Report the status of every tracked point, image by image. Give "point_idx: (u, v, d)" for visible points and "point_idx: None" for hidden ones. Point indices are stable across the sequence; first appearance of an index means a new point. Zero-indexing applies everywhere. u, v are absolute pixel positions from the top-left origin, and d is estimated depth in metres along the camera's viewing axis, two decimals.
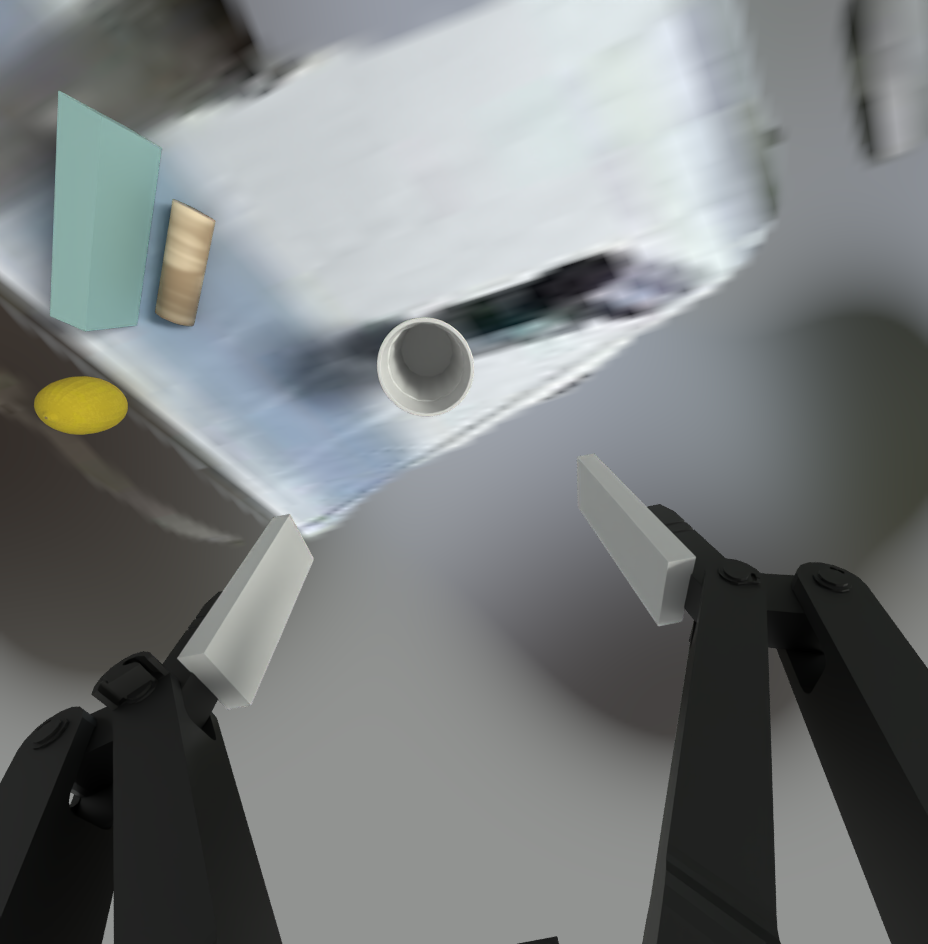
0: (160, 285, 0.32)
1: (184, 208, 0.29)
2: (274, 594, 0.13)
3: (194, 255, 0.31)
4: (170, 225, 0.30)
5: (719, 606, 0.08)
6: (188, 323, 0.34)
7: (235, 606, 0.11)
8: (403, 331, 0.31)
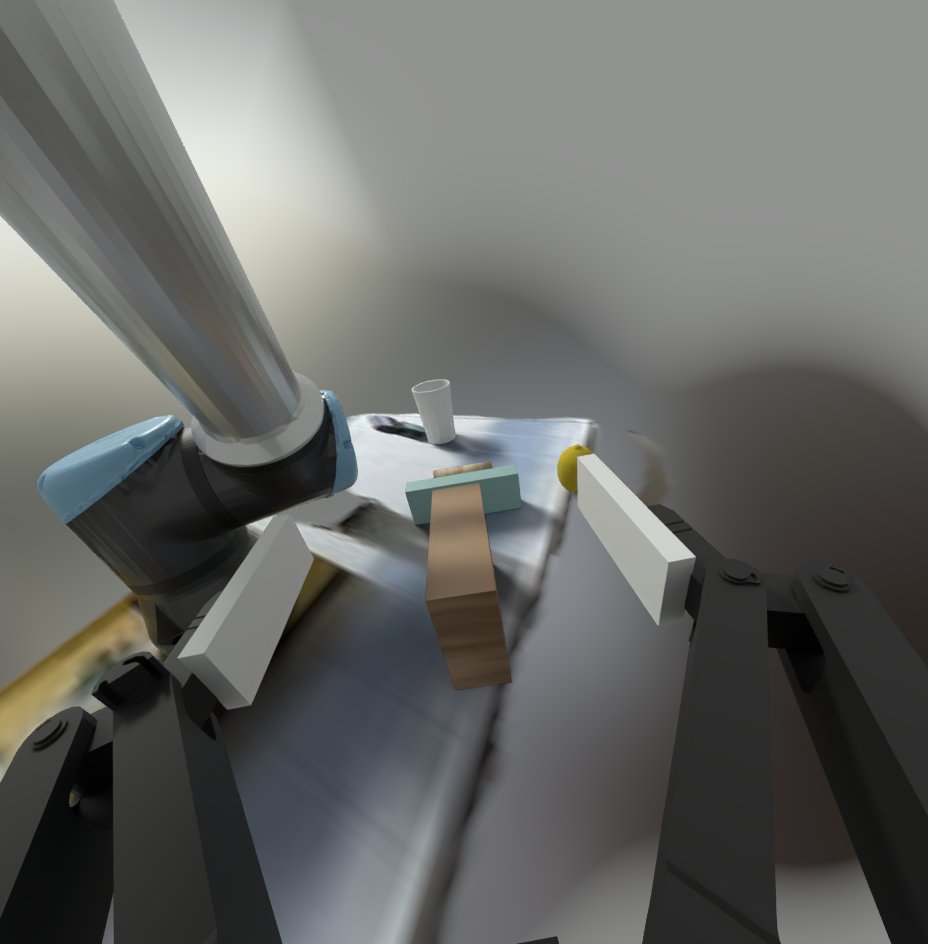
0: None
1: None
2: (274, 594, 0.13)
3: None
4: None
5: (719, 606, 0.08)
6: None
7: (235, 606, 0.11)
8: None
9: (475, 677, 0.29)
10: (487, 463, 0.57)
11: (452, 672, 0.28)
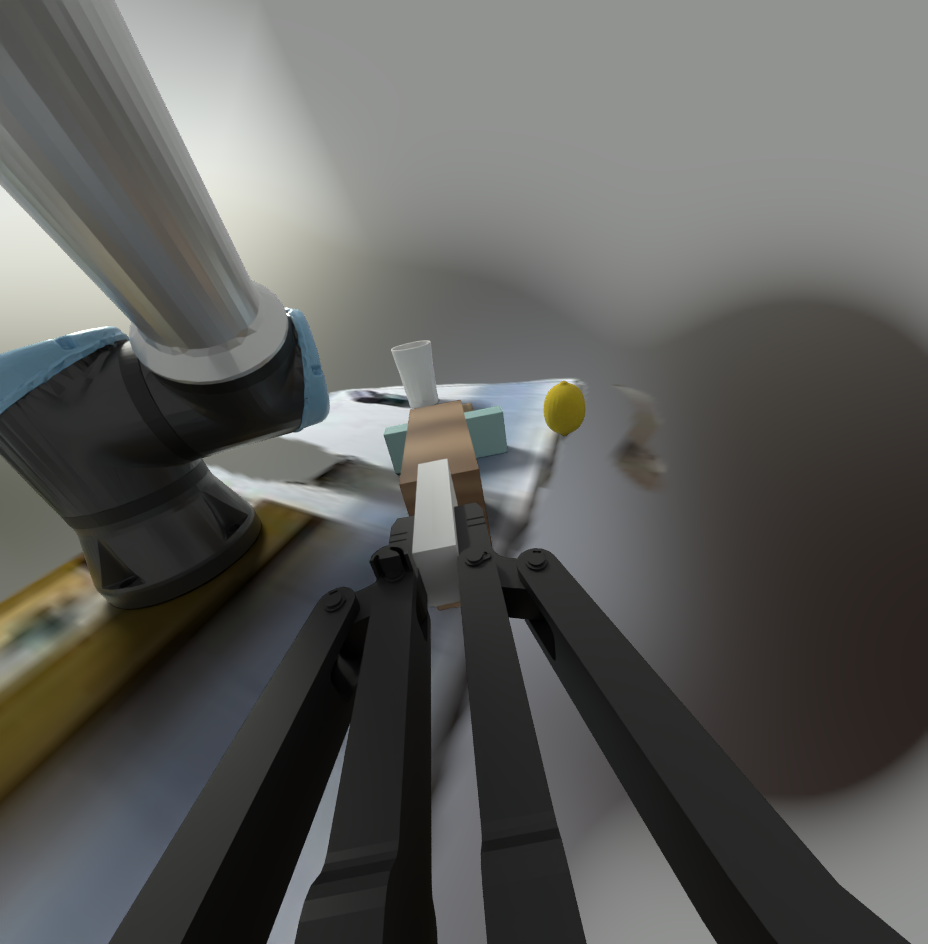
0: None
1: None
2: None
3: None
4: None
5: (471, 589, 0.10)
6: None
7: None
8: None
9: None
10: None
11: None
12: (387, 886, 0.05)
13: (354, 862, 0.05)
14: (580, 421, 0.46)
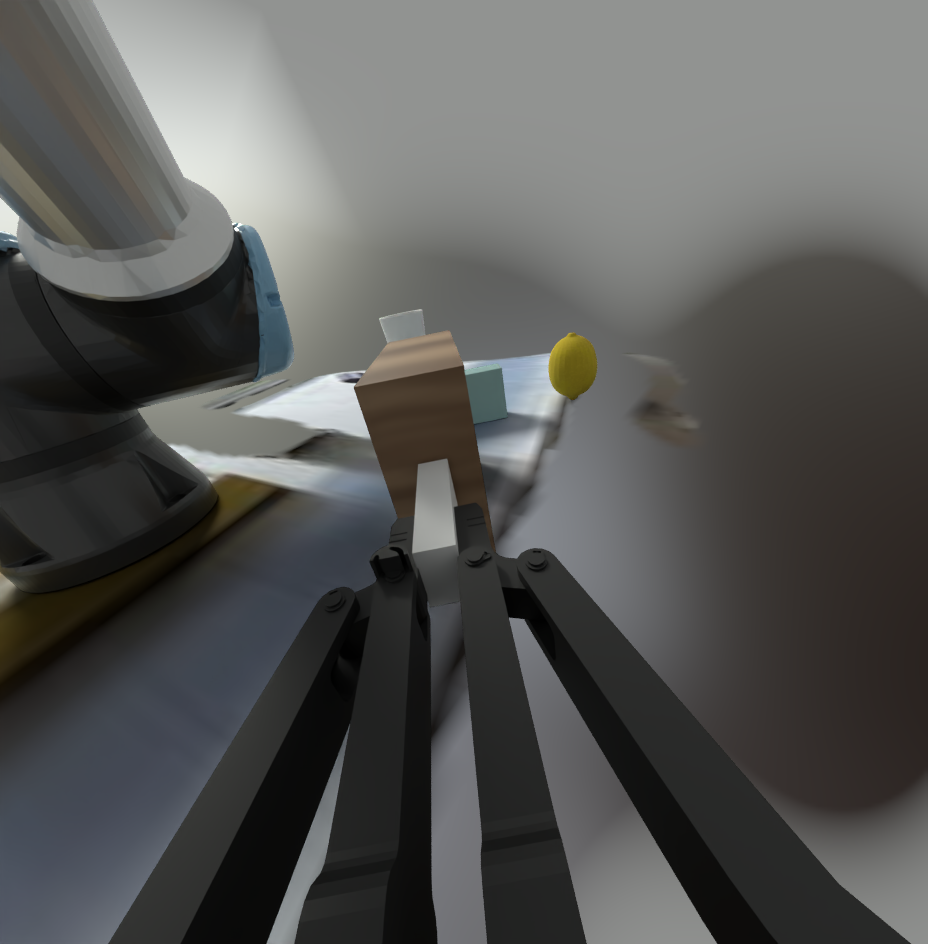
0: None
1: None
2: None
3: None
4: None
5: (471, 589, 0.10)
6: None
7: None
8: None
9: None
10: None
11: None
12: (387, 886, 0.05)
13: (354, 862, 0.05)
14: (591, 379, 0.39)
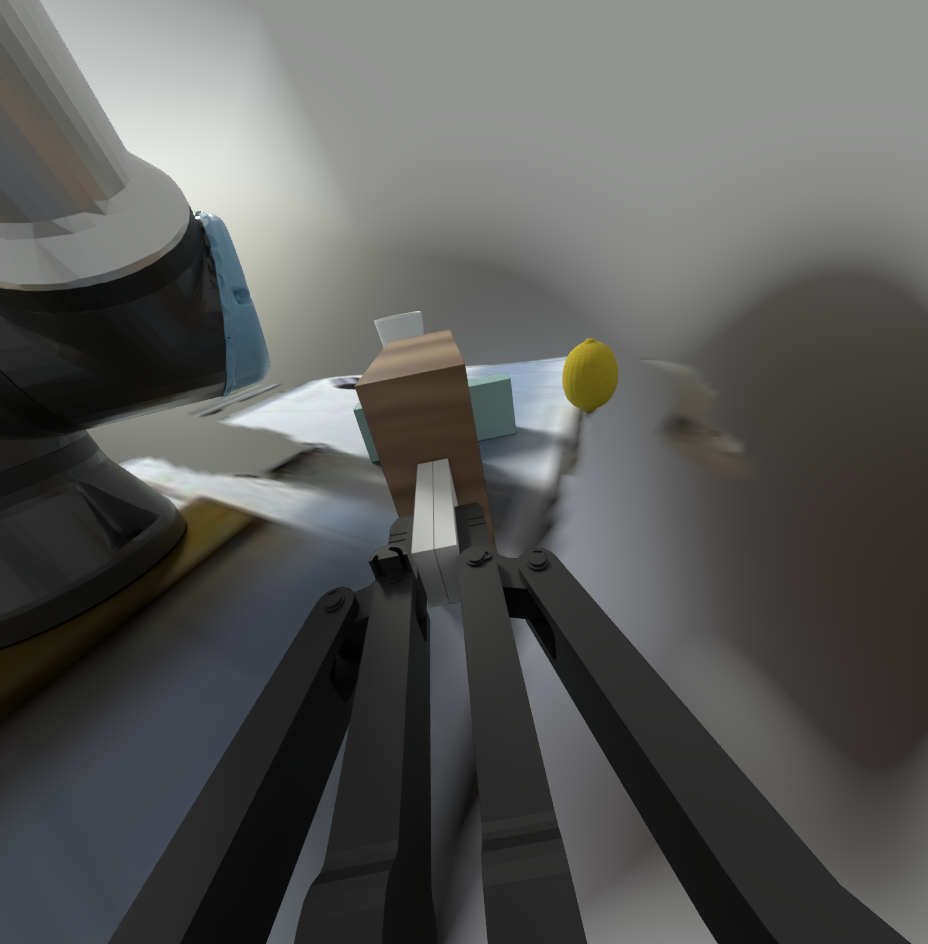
0: None
1: None
2: None
3: None
4: None
5: (472, 589, 0.10)
6: None
7: None
8: None
9: None
10: None
11: None
12: (386, 886, 0.05)
13: (353, 862, 0.05)
14: (612, 391, 0.35)
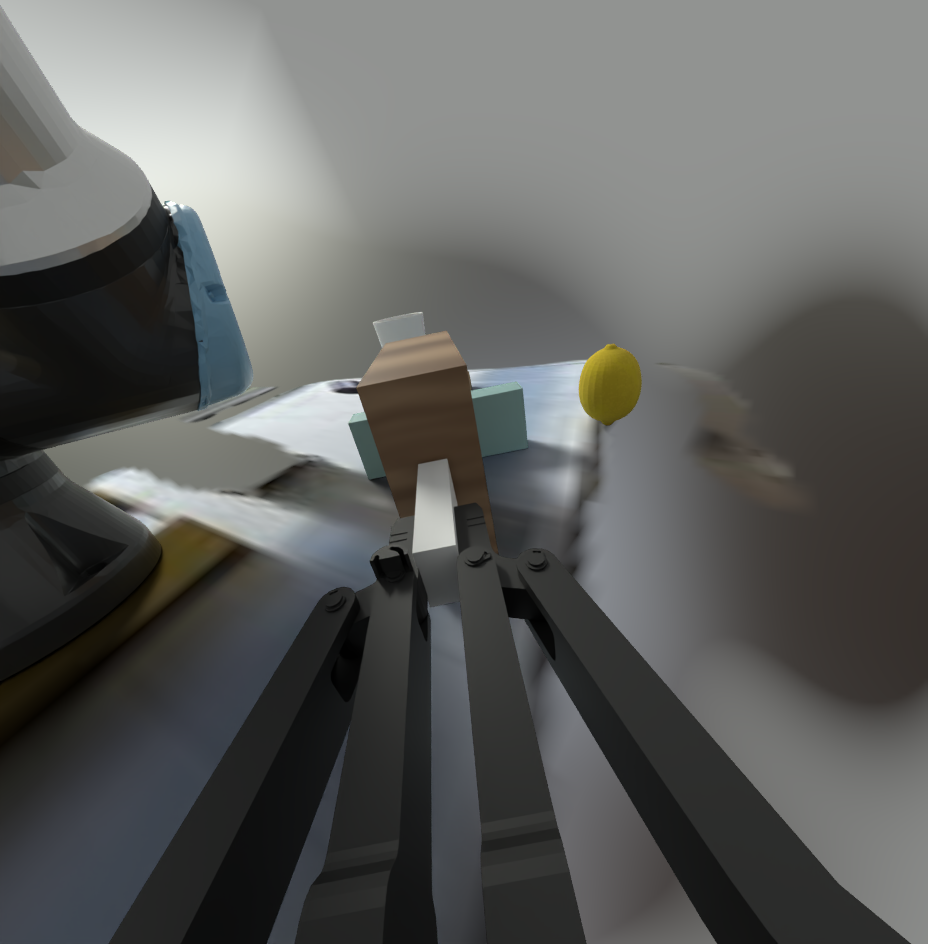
0: None
1: None
2: None
3: None
4: None
5: (471, 589, 0.10)
6: None
7: None
8: None
9: None
10: None
11: None
12: (387, 886, 0.05)
13: (354, 862, 0.05)
14: (634, 402, 0.31)
